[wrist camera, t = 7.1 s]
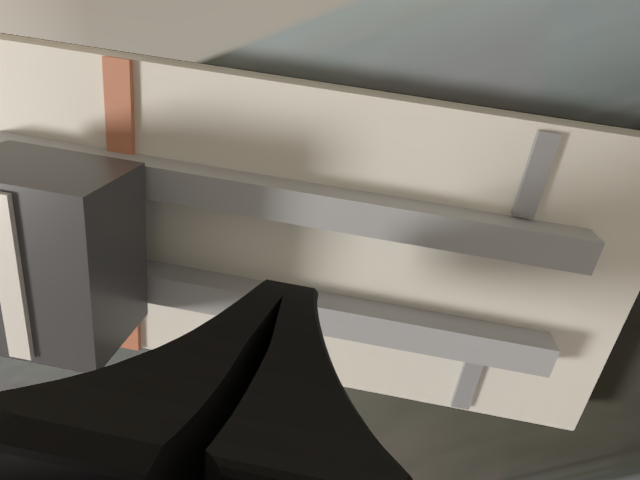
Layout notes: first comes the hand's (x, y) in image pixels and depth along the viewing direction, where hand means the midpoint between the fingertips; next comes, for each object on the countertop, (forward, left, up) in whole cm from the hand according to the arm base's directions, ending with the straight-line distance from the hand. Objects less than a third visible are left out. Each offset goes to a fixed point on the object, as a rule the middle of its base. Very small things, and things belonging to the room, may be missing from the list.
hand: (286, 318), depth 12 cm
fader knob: (+7, 0, -3) cm, 8 cm away
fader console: (+1, 0, -5) cm, 5 cm away
